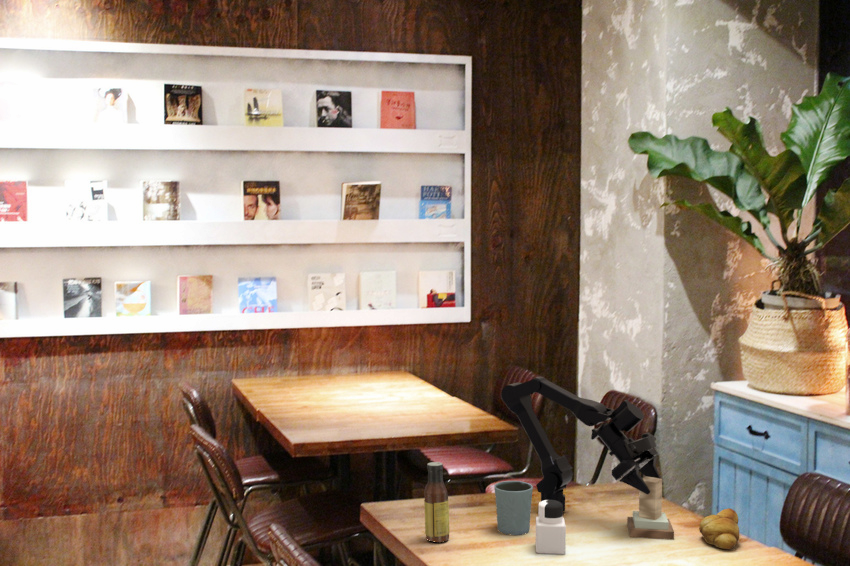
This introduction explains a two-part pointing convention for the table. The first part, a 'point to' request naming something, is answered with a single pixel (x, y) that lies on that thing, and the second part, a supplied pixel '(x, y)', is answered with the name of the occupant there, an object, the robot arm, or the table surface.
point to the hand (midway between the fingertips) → (655, 489)
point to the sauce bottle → (436, 505)
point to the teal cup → (513, 506)
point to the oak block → (651, 499)
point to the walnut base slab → (649, 531)
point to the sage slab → (650, 522)
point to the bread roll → (721, 529)
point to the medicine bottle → (550, 528)
